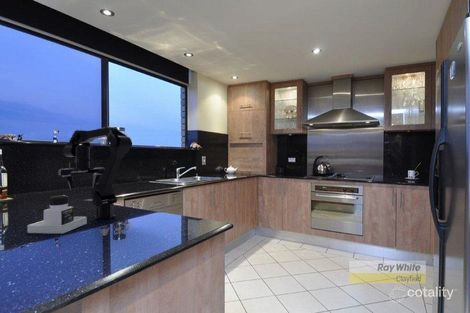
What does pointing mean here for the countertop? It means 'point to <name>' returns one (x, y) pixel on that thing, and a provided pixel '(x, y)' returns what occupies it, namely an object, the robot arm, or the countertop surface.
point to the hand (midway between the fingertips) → (82, 189)
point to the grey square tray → (56, 226)
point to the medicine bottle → (58, 211)
